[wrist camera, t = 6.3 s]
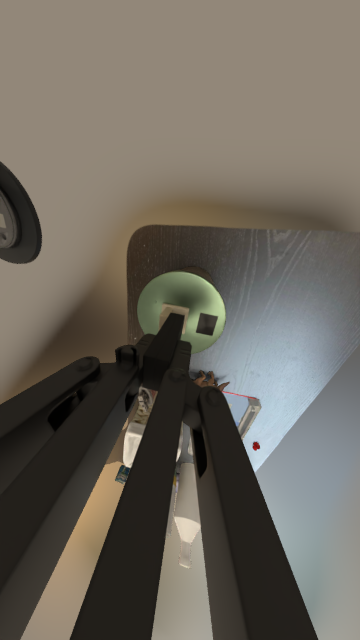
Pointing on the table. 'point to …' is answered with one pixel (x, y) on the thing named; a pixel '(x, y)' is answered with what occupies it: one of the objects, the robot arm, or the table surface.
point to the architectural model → (240, 412)
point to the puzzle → (122, 474)
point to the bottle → (187, 511)
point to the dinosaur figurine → (209, 381)
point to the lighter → (146, 397)
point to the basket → (140, 434)
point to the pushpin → (256, 446)
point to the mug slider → (173, 309)
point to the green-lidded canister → (185, 305)
